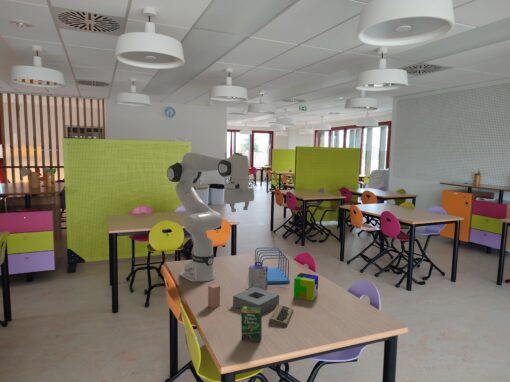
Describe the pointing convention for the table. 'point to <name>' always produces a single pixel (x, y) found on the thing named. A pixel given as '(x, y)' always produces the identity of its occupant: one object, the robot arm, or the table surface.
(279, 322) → the computer
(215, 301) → the block
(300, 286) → the puzzle toy
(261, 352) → the table surface
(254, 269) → the ink cartridge box
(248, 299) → the holder
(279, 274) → the file sorter
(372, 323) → the table surface
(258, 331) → the coffee box
